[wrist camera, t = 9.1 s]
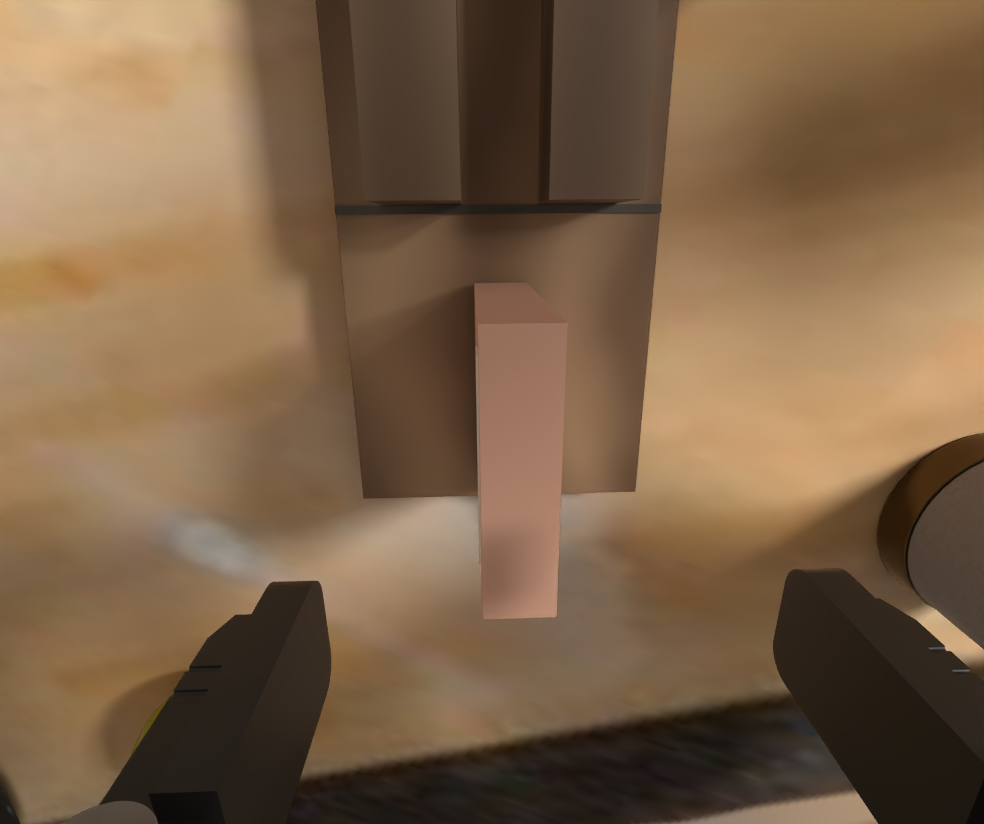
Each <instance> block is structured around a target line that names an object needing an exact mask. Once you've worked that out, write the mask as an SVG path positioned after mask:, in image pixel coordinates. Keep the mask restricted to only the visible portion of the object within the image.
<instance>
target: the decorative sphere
mask: <svg viewBox="0 0 984 824" xmlns="http://www.w3.org/2000/svg"><path fill="white" fill-rule="evenodd" d="M0 824H20V822H19V820H18V818H17V816H16V813H15V811H14V809H13V807H12V805H11V803H10V801H9V798H8V796H7V794H6V793H5V792H4V790H3V789H2V788H1V786H0Z"/></svg>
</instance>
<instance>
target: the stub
mask: <svg viewBox="0 0 984 824" xmlns="http://www.w3.org/2000/svg"><path fill="white" fill-rule="evenodd" d="M474 299H475V355H476V410H477V466H478V521H479V561H480V564H481V584H482V612H483V620H485V619H514V618H543V617H556V614H557V588H558V562H559V536H560V510H561V484H562V458H563V432H564V406H565V380H566V354H567V328H568V323H567V322H566V321H565V320H564V319H563V318H562V317H561V316H560V315H559V314H558V313H557V312H556V311H555V310H554V309H553V308H552V307H551V306H550V305H549V304H548V303H547V302H546V301H545V300H544V299H543V298H542V297H541V296H540V295H539V294H538V293H537V292H536V291H535V290H534V289H533V288H532V287H531V286H530V285H529V284H528V283H474Z"/></svg>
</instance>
